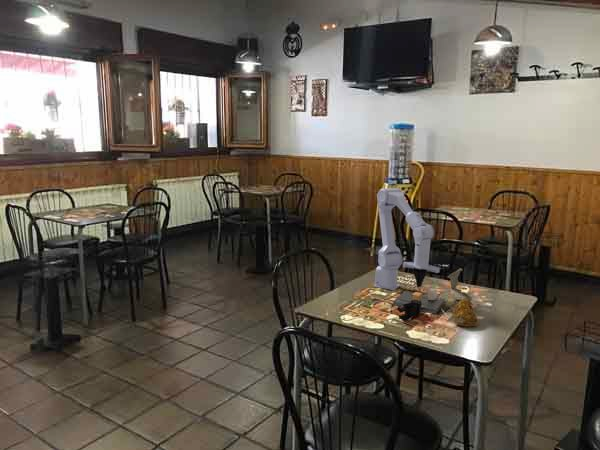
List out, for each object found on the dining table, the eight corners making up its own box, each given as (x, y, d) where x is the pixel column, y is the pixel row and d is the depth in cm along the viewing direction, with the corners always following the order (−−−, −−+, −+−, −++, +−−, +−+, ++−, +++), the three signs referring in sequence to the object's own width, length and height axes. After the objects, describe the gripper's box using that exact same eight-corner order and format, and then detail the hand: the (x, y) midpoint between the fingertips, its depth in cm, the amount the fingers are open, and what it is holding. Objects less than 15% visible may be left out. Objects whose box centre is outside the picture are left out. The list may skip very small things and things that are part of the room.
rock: (476, 333, 175) (482, 322, 167) (453, 336, 176) (458, 325, 168) (467, 306, 182) (472, 294, 174) (446, 308, 182) (449, 296, 174)
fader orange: (412, 303, 188) (412, 294, 188) (415, 300, 192) (415, 291, 191) (418, 304, 187) (419, 295, 186) (421, 301, 190) (421, 293, 190)
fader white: (427, 299, 193) (428, 291, 192) (430, 296, 196) (431, 288, 196) (434, 300, 192) (434, 292, 191) (436, 297, 195) (437, 289, 195)
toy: (412, 309, 186) (413, 293, 185) (424, 312, 184) (425, 296, 182) (395, 322, 174) (396, 305, 173) (408, 325, 171) (409, 308, 170)
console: (392, 304, 191) (393, 301, 190) (404, 294, 204) (404, 291, 203) (435, 313, 182) (435, 309, 182) (444, 302, 195) (445, 298, 195)
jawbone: (464, 303, 209) (472, 299, 195) (447, 306, 210) (454, 302, 195) (457, 272, 213) (465, 266, 199) (440, 275, 214) (447, 269, 199)
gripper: (401, 253, 194) (399, 285, 196) (437, 259, 187) (434, 292, 189) (406, 250, 200) (404, 281, 202) (441, 255, 193) (438, 287, 195)
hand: (419, 286), depth 196 cm, fingers closed
